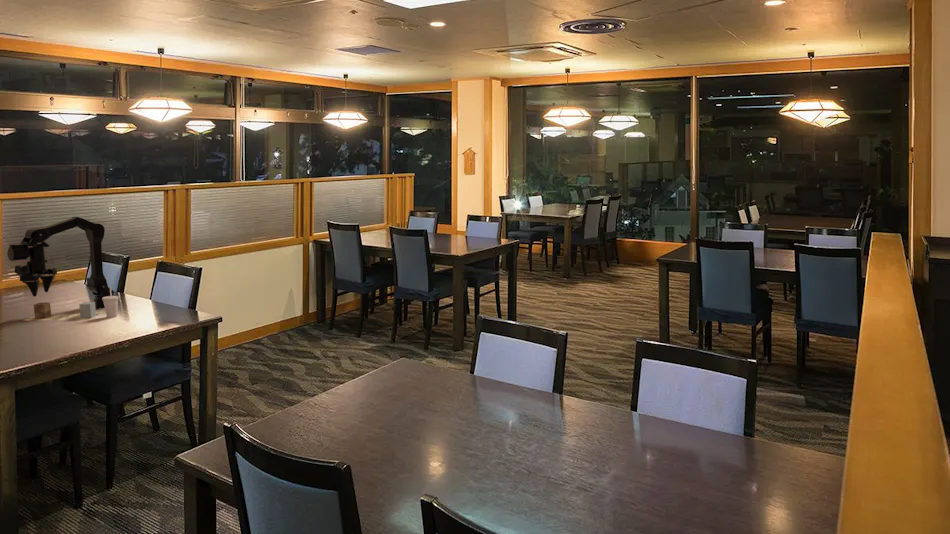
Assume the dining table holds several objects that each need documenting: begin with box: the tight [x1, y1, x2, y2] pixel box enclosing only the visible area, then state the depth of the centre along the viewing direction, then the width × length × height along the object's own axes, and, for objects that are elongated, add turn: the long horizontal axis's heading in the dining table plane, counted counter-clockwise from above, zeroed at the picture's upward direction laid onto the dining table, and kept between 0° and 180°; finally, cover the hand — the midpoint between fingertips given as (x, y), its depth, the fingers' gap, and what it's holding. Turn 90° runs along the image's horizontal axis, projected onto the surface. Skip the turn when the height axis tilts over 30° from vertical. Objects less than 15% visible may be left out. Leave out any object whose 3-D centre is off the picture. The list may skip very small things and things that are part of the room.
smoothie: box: [102, 286, 119, 319], centre depth 310 cm, size 6×6×14 cm
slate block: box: [78, 301, 97, 319], centre depth 311 cm, size 4×4×6 cm
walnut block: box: [33, 302, 52, 319], centre depth 310 cm, size 4×4×6 cm
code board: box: [22, 313, 100, 322], centre depth 311 cm, size 27×12×1 cm, turn 93°
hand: (40, 294), depth 308 cm, fingers open, 9 cm apart
